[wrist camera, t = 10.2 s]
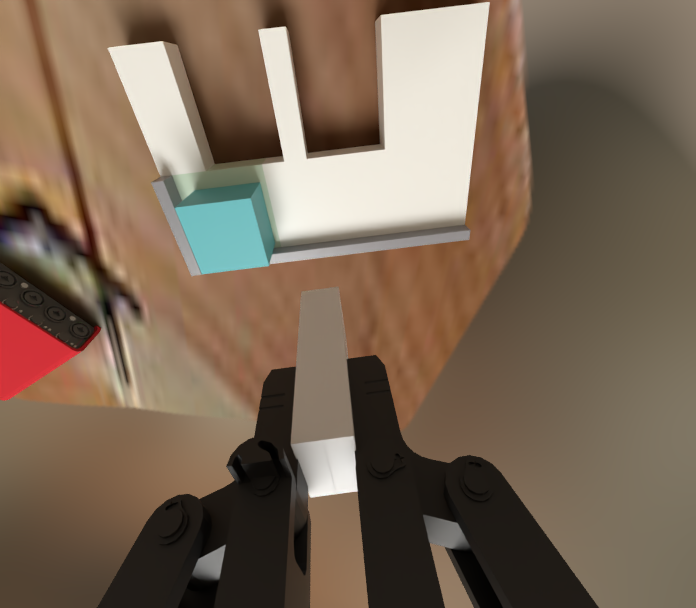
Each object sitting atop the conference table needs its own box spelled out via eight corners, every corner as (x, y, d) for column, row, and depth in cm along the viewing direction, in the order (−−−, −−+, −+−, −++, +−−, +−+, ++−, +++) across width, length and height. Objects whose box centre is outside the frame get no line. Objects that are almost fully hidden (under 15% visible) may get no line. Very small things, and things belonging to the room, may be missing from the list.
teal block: (194, 190, 29) (174, 207, 25) (260, 182, 29) (250, 198, 25) (216, 250, 33) (201, 274, 29) (275, 242, 33) (268, 265, 29)
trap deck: (127, 51, 26) (91, 45, 22) (473, 9, 26) (502, -5, 22) (206, 253, 36) (191, 275, 32) (453, 223, 36) (470, 241, 32)
